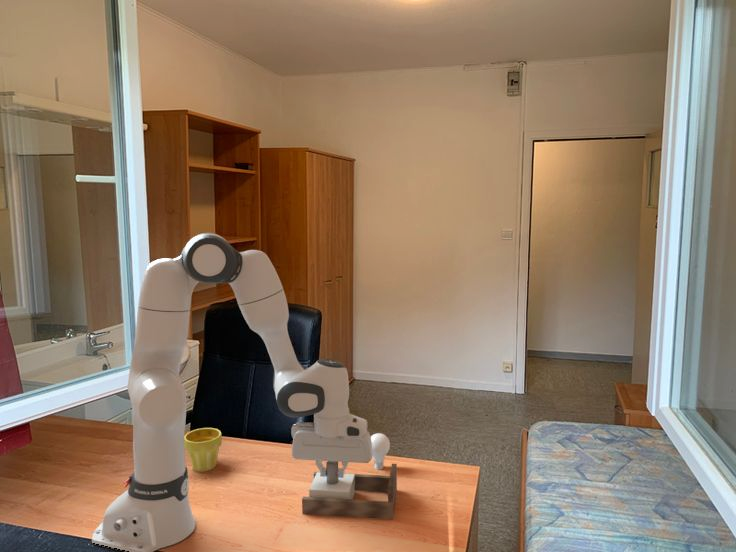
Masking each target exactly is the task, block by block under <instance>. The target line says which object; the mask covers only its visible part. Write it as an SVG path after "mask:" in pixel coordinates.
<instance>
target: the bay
mask: <svg viewBox="0 0 736 552" xmlns="http://www.w3.org/2000/svg"><path fill="white" fill-rule="evenodd" d="M397 466H398V465H397V463H391V468H390V472H389V473H390V474H389V475H380V474H379V475H378V474H363V473H361V474H360V473H354V474H355V491H365V492H383V493H384V492H386V493H387V501H382V500H381V501H380V500H367V499H354V498H353V499H336V498H319V497H309V496H302V498H301V504H302V505H301V507H302V508H301V510H302V511H301V512H302V515H313V516H325V517H326V516H327V517H341V518H358V519H359V518H360V519H361V518H362V519H373V520H374V519H375V520H376V519H377V520H378V519H379V520H391V521H392V520H393V519H394V514H395V513H394V512H395V506H396V499H397V491H398V476H397V469H398V468H397ZM317 472H318V471H314V472H313V479H314V478H315V475H316V473H317ZM344 474H347V473H346V472H344Z"/></svg>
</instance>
